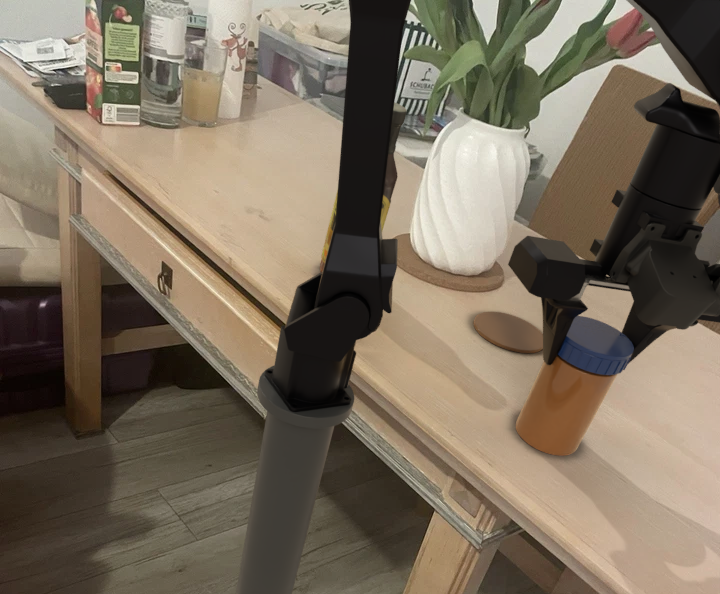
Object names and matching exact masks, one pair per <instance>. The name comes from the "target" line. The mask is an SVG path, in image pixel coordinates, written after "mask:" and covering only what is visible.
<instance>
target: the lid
mask: <svg viewBox="0 0 720 594" xmlns="http://www.w3.org/2000/svg"><path fill="white" fill-rule="evenodd" d="M633 352H634V346H633V344H632V342H631V341H630V340H629V338H628V337H627V336H625V335H624V334H623V333H622V331H620V330H619V329H617V328H615V327H614V326H612V325H610V324H608V323H605V322H604V321H601V320H598V319H595V318H591V317H588V316H584V315H578V316H576V317H575V318H574V320H573V322H572V324H571V327H570V329H569V331H568V333H567V335H566V338H565V340H564V342H563V344H562V346H561V349H560V351H559V353H558V355H559V356H560V357H561V358H562V359H564V360H565V361H567V362H569V363H570V364H572V365H574V366H576V367H578V368H580V369H583V370H585V371H589V372H592V373H596V374H601V375H615V374H617V375H619V374H621V373H623V371H625V370H626V368H627V367H628V365H629V364H630V363H629V361H630V359H631V356H632V354H633ZM628 363H629V364H628Z"/></svg>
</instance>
